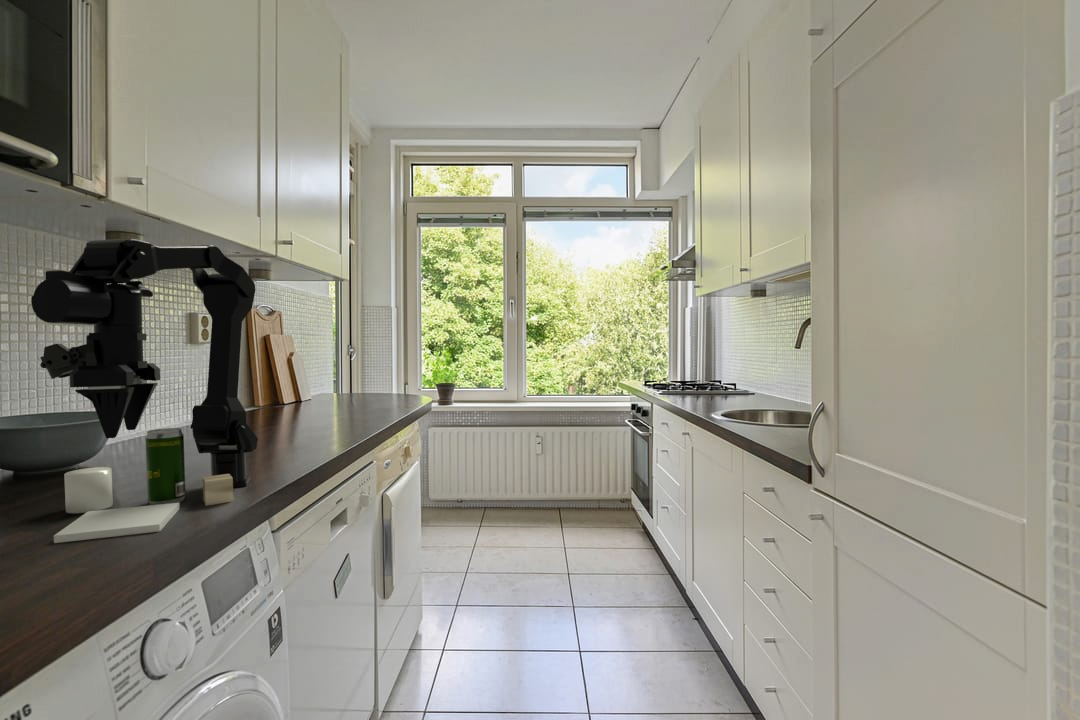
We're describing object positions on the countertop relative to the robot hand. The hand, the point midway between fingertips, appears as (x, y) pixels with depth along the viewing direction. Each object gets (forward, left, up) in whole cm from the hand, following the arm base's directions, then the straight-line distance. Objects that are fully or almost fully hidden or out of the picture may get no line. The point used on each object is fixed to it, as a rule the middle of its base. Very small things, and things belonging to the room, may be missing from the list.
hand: (121, 433), depth 84 cm
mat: (0, 0, -13) cm, 13 cm away
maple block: (-9, +11, -13) cm, 19 cm away
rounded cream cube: (-13, -8, -13) cm, 20 cm away
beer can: (-12, +3, -14) cm, 18 cm away
